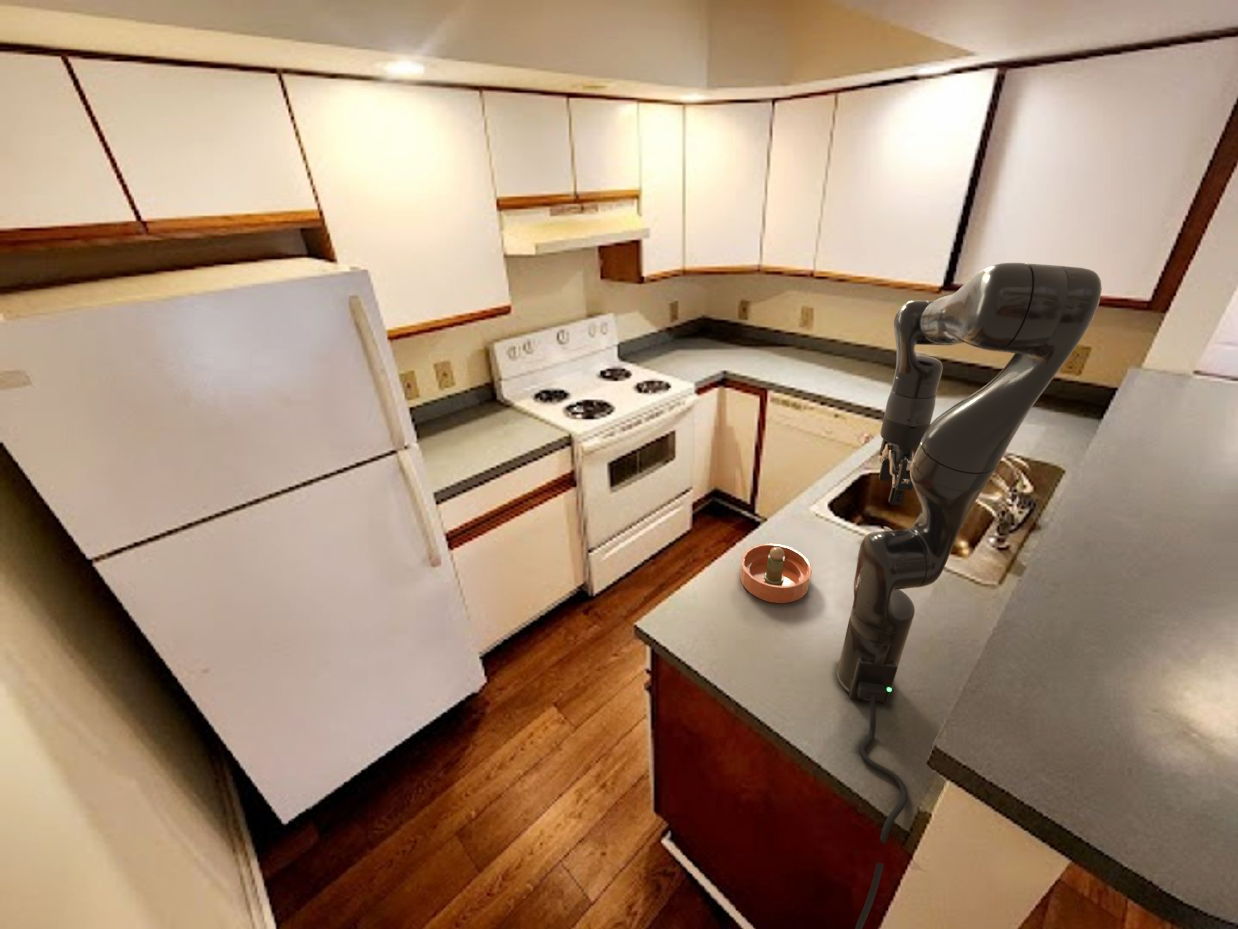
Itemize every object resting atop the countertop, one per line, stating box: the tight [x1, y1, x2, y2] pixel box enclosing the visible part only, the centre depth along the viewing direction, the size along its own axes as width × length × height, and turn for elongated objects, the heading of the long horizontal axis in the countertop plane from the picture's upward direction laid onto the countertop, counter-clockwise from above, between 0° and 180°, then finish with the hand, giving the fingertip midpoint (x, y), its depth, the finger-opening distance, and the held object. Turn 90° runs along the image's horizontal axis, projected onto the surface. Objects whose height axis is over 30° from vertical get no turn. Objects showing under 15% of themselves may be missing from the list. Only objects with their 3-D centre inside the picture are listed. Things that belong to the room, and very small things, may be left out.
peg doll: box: [764, 547, 785, 585], centre depth 121 cm, size 4×4×9 cm
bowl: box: [740, 543, 813, 604], centre depth 122 cm, size 15×15×5 cm
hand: (889, 491), depth 103 cm, fingers open, 8 cm apart
